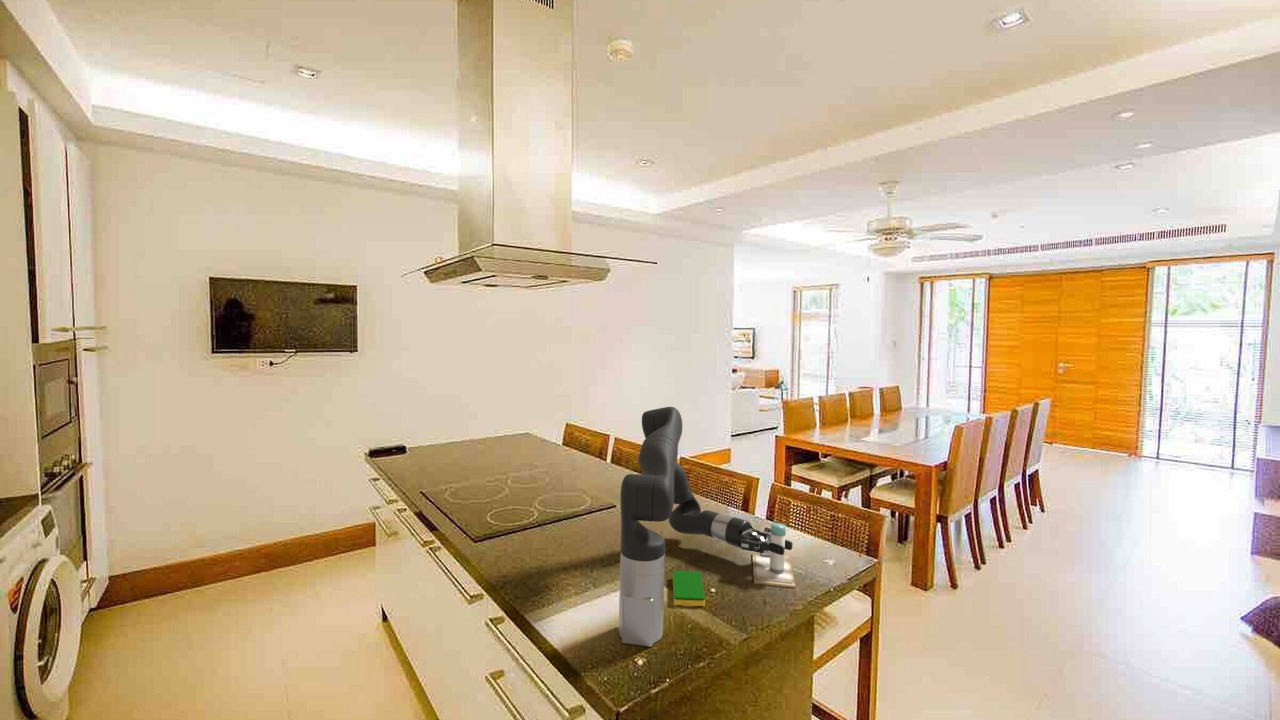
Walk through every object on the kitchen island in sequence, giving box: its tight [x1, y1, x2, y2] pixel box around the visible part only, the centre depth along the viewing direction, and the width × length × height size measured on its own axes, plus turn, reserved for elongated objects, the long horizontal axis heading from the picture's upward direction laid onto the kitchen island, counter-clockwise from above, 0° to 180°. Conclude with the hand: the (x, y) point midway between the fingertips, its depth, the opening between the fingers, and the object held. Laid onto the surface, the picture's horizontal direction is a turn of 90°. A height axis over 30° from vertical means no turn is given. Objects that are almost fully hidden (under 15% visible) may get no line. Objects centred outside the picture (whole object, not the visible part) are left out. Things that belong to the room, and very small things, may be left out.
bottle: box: [770, 522, 787, 574], centre depth 138 cm, size 4×4×12 cm
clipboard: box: [751, 551, 796, 589], centre depth 140 cm, size 18×10×1 cm, turn 169°
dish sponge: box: [672, 570, 706, 607], centre depth 127 cm, size 7×14×2 cm, turn 177°
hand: (787, 548), depth 136 cm, fingers open, 3 cm apart
